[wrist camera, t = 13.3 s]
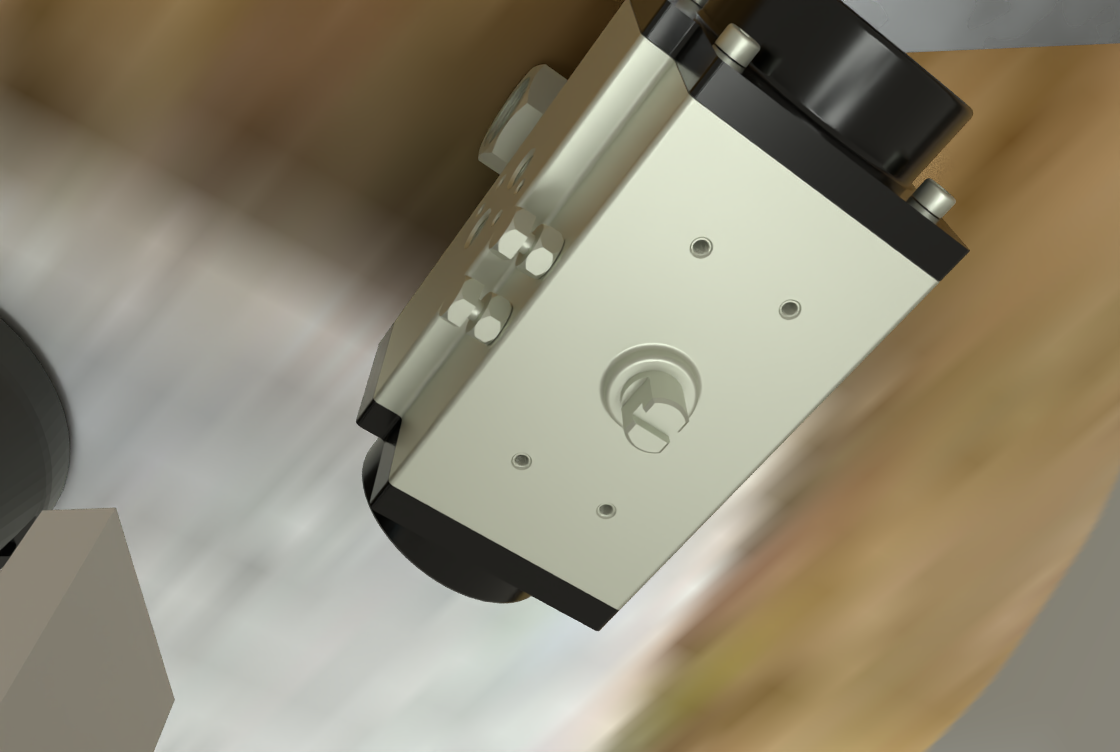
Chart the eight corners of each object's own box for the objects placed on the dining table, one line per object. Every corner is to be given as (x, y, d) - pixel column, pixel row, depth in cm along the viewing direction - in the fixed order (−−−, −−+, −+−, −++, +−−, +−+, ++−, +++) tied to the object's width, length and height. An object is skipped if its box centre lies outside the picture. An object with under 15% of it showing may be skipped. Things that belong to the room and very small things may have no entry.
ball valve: (662, -144, 34) (756, -72, 18) (858, 17, 36) (1086, 201, 21) (371, 278, 41) (263, 586, 26) (551, 389, 43) (552, 730, 28)
